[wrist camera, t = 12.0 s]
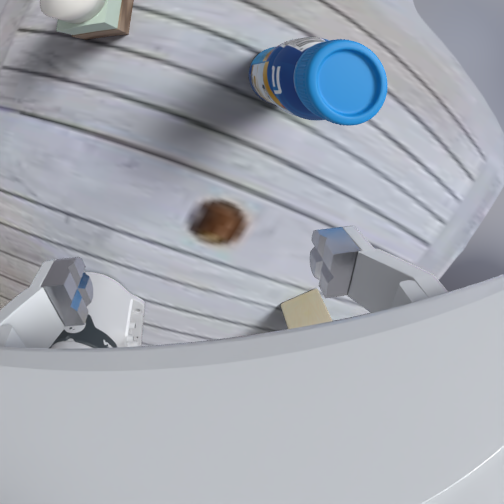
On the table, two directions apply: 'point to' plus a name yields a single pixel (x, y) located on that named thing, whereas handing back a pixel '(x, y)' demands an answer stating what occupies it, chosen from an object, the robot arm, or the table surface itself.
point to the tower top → (95, 20)
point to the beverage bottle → (321, 80)
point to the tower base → (122, 24)
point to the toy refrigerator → (305, 310)
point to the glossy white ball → (72, 9)
